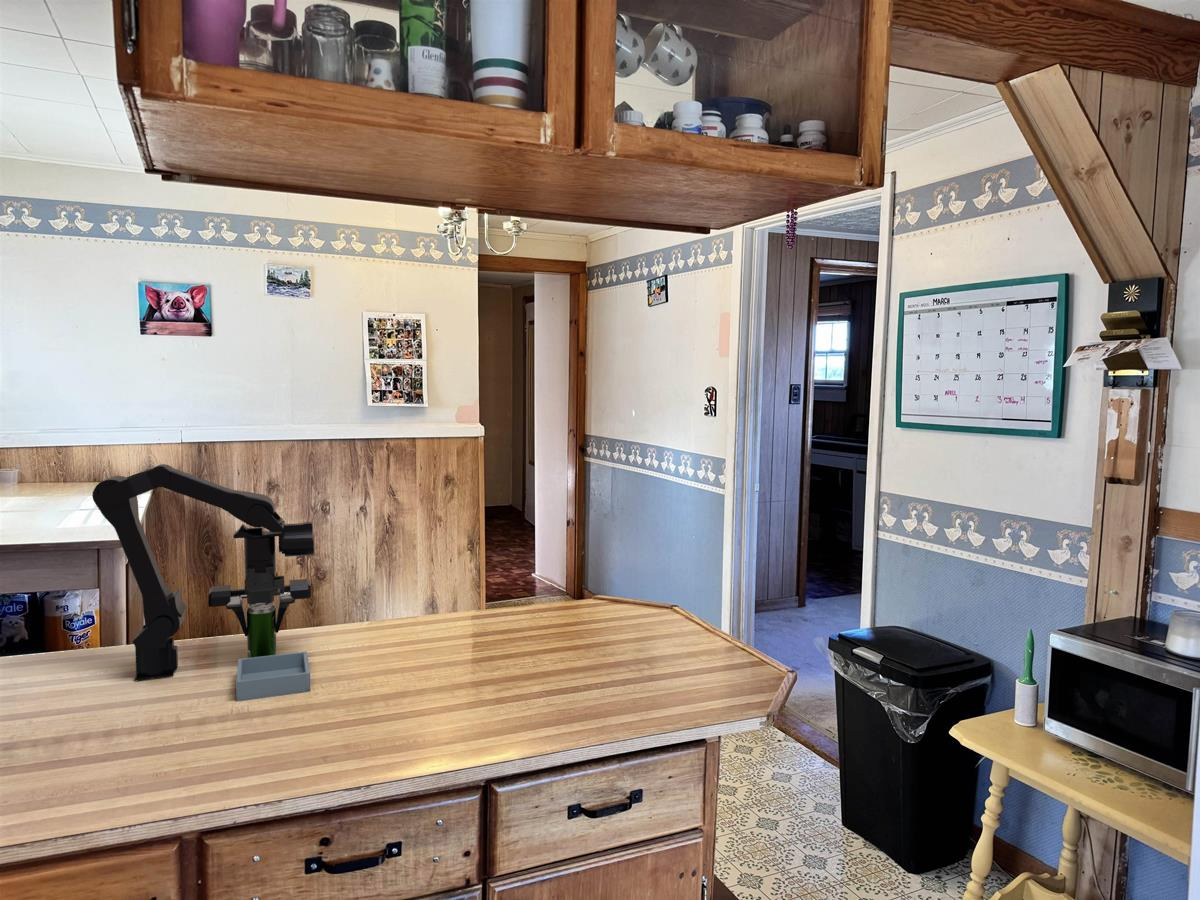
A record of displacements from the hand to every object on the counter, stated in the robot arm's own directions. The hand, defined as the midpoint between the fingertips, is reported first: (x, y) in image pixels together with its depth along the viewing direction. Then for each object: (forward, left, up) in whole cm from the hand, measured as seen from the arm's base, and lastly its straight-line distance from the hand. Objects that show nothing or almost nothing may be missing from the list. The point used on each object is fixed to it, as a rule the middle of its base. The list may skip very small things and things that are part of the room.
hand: (261, 633), depth 157 cm
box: (+2, -13, -6) cm, 14 cm away
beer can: (0, 0, -6) cm, 6 cm away
